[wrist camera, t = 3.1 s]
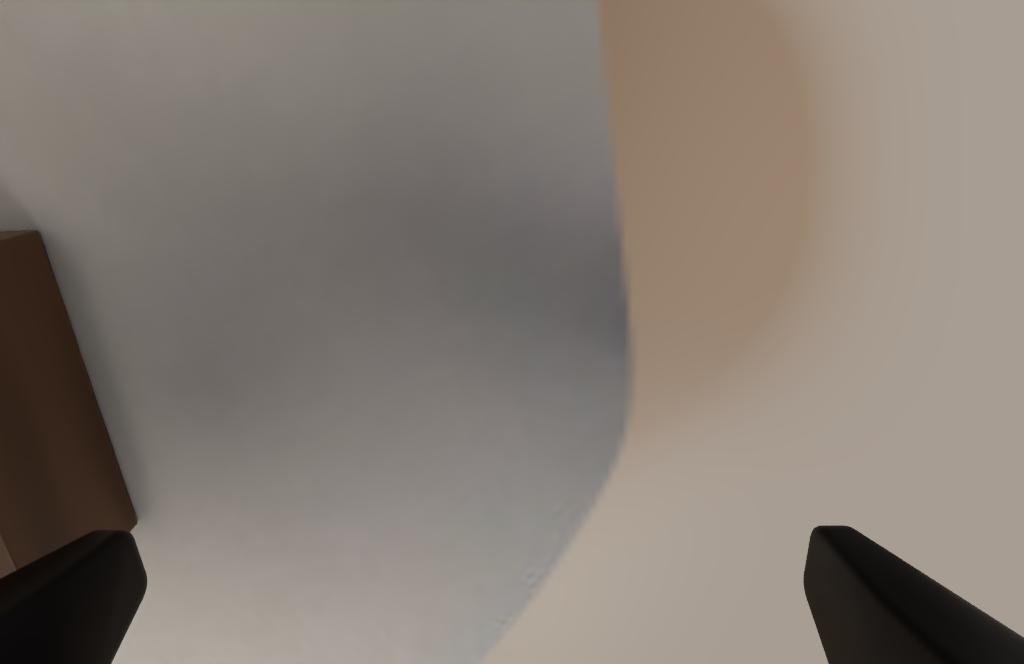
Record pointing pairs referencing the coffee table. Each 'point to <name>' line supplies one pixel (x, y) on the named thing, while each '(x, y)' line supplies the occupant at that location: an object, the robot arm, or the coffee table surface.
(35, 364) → the walnut block
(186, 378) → the coffee table surface
